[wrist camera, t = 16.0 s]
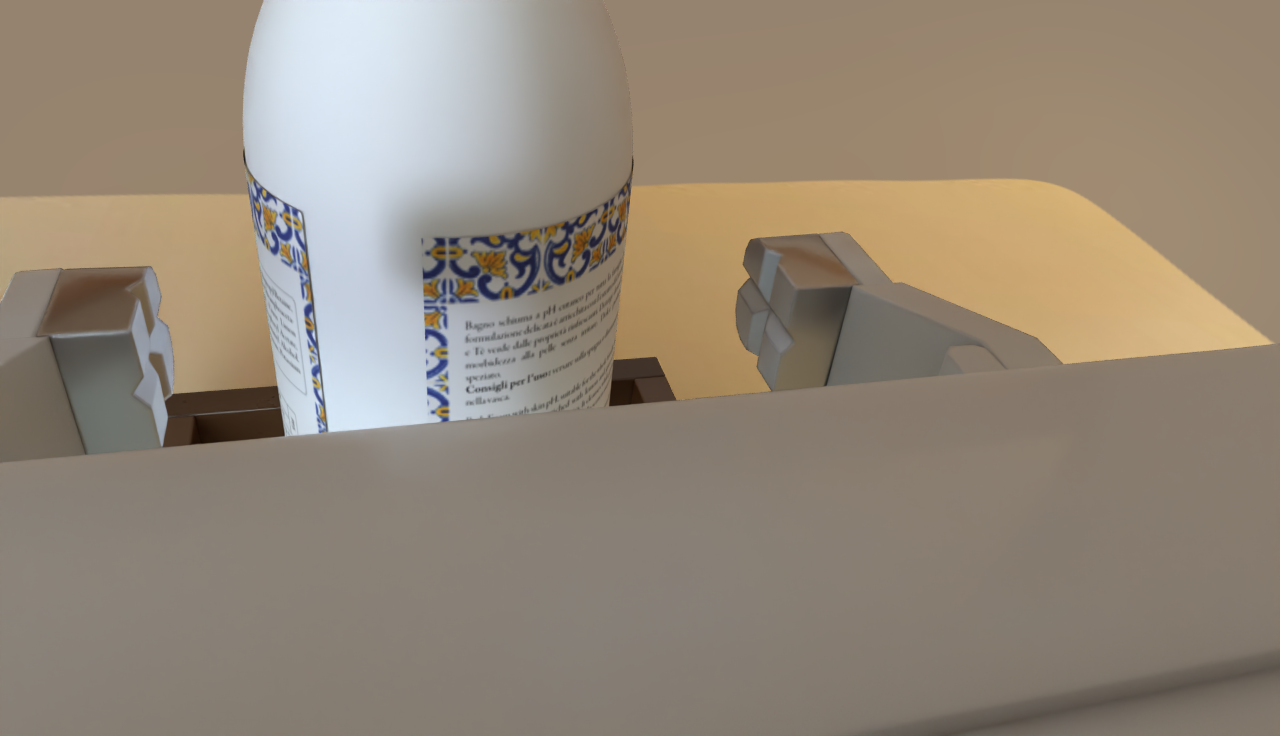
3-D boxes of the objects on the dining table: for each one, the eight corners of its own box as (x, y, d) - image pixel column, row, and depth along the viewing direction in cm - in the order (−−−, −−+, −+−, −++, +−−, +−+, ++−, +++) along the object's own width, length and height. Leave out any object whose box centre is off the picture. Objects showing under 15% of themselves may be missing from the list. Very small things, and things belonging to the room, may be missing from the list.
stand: (810, 778, 21) (829, 723, 20) (91, 925, 17) (63, 869, 16) (650, 406, 31) (656, 355, 30) (171, 450, 27) (158, 394, 26)
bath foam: (622, 517, 27) (734, -398, 15) (537, 728, 21) (610, -454, 10) (390, 456, 28) (330, -443, 16) (252, 642, 22) (11, -517, 11)
